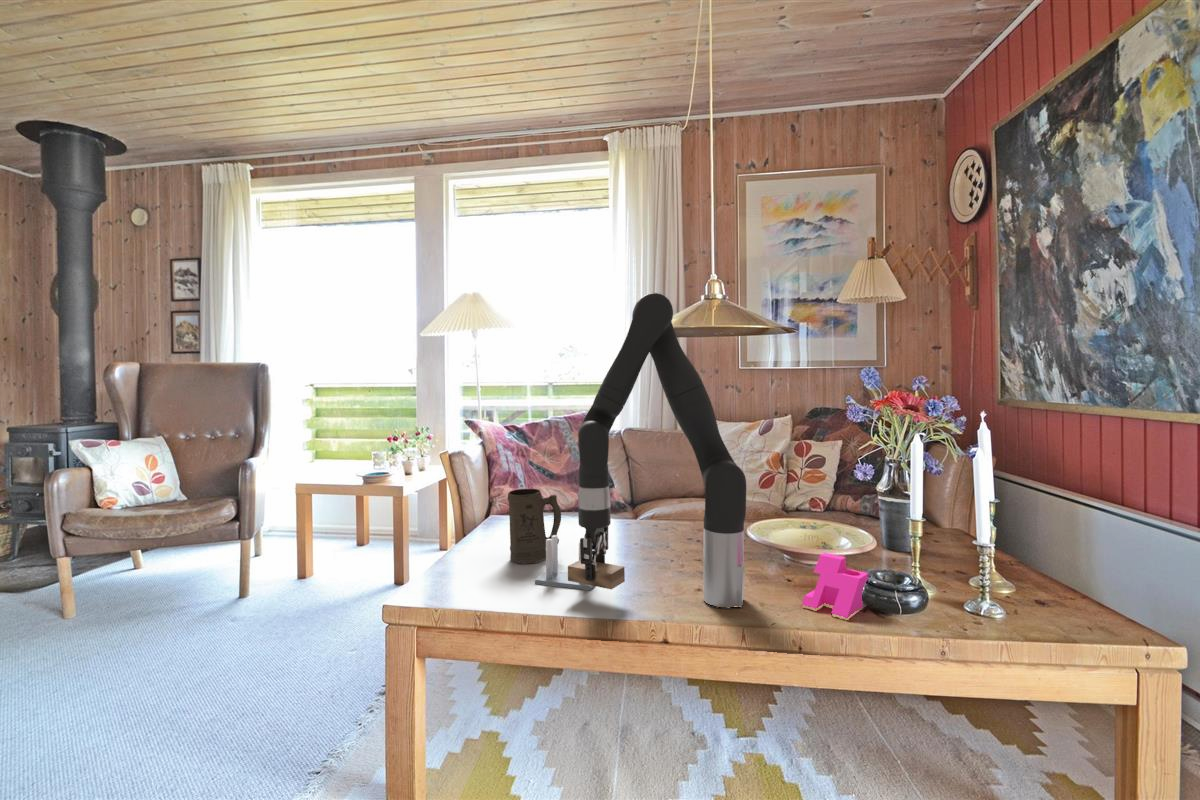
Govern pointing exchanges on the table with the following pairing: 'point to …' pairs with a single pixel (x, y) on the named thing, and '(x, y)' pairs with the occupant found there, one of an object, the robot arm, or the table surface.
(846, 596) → the pink dog planter
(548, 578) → the peg stand
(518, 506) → the beer stein
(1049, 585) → the table surface
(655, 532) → the table surface
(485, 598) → the table surface
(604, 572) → the brown wooden block
